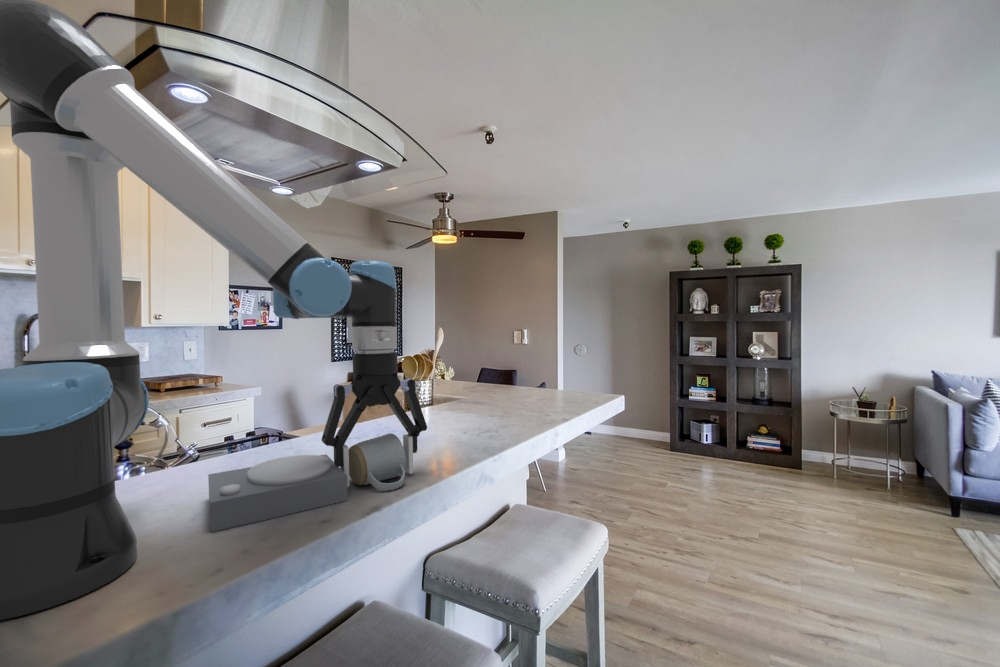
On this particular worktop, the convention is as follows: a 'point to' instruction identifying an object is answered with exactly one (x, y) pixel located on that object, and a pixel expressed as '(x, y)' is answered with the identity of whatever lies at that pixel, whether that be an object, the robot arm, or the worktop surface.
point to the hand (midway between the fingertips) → (378, 477)
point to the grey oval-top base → (274, 490)
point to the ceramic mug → (377, 462)
